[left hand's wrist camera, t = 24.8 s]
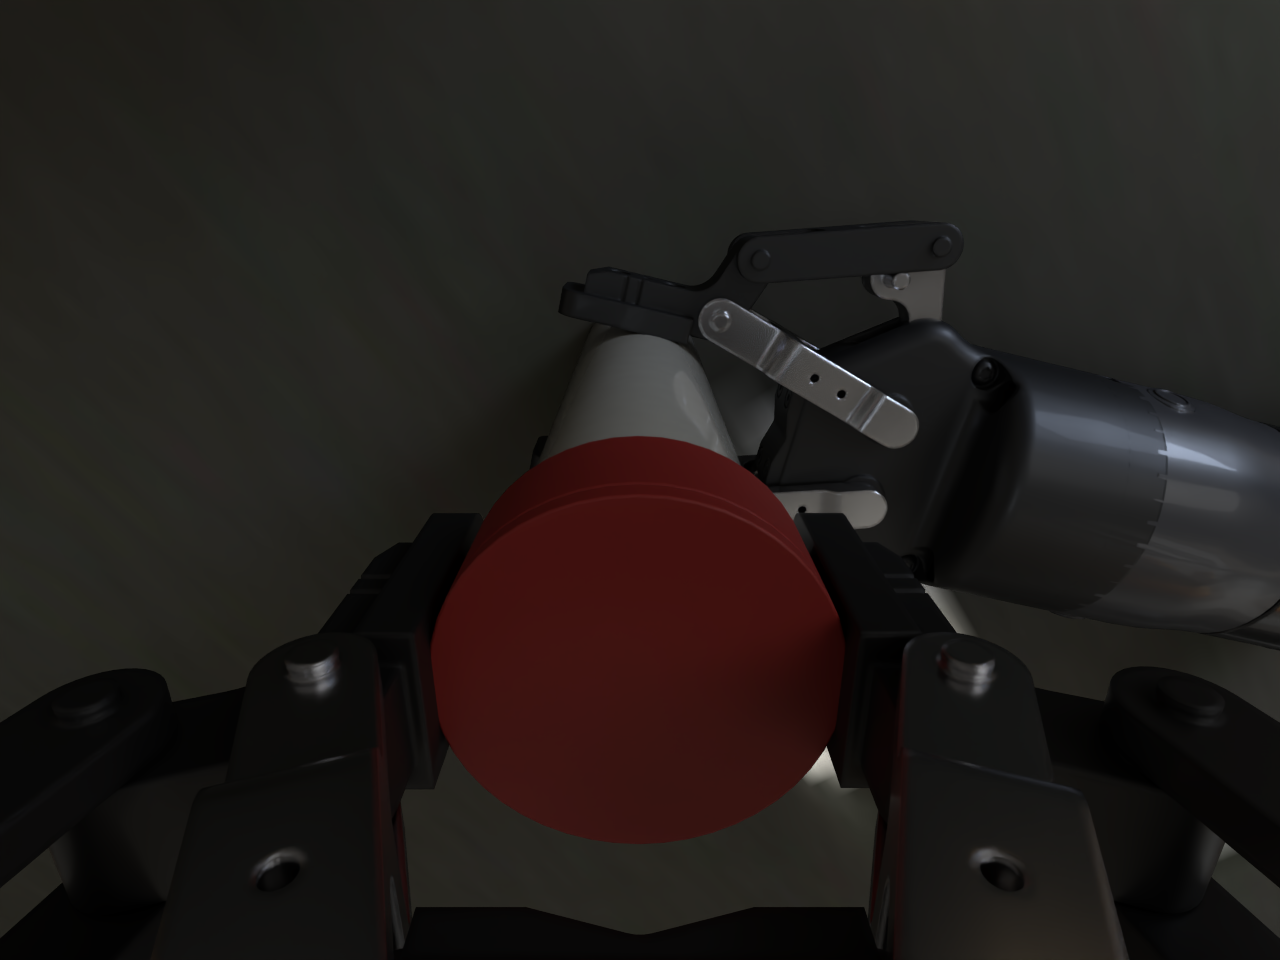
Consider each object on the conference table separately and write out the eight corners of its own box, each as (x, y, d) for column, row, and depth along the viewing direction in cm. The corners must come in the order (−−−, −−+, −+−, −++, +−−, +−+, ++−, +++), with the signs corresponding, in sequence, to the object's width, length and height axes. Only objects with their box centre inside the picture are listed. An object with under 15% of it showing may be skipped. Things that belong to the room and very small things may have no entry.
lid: (851, 672, 11) (898, 776, 9) (557, 771, 12) (539, 887, 10) (741, 377, 10) (768, 424, 7) (404, 513, 10) (346, 590, 8)
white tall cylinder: (689, 294, 26) (792, 482, 9) (699, 404, 28) (803, 758, 10) (576, 307, 27) (446, 520, 9) (592, 417, 28) (510, 785, 10)
